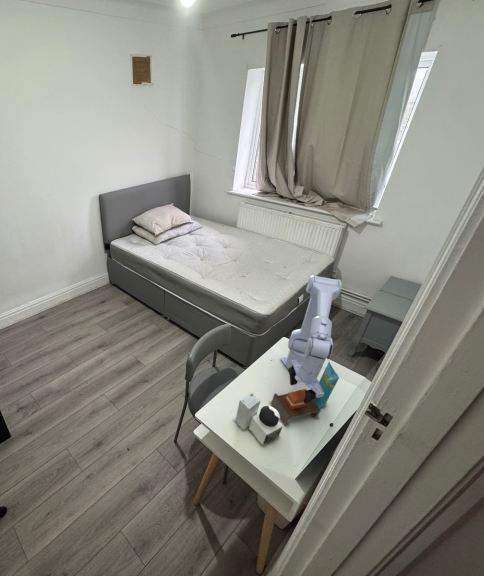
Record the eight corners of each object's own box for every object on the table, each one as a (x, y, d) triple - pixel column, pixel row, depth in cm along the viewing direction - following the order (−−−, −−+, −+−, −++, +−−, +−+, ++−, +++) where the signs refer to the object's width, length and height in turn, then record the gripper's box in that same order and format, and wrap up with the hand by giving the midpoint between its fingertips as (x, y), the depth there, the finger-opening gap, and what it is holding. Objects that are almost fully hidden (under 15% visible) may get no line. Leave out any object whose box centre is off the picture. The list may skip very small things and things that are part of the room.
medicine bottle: (262, 446, 101) (270, 426, 94) (248, 428, 107) (254, 408, 100) (278, 437, 104) (287, 417, 97) (263, 420, 109) (270, 400, 102)
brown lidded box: (301, 396, 116) (305, 387, 113) (317, 417, 109) (322, 407, 106) (270, 403, 114) (274, 393, 111) (284, 425, 107) (288, 415, 104)
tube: (306, 394, 117) (321, 360, 106) (319, 393, 117) (335, 360, 106) (316, 411, 111) (333, 377, 100) (329, 410, 111) (347, 377, 100)
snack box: (301, 397, 111) (305, 388, 108) (308, 405, 108) (312, 397, 105) (284, 400, 110) (288, 392, 107) (290, 409, 107) (294, 401, 104)
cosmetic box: (243, 430, 106) (249, 410, 99) (234, 420, 109) (239, 400, 102) (255, 421, 109) (261, 401, 102) (245, 412, 112) (251, 391, 105)
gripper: (286, 353, 104) (277, 378, 112) (314, 387, 92) (302, 413, 100) (304, 349, 105) (294, 375, 113) (334, 383, 93) (321, 409, 101)
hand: (299, 392), depth 106 cm, fingers open, 7 cm apart
